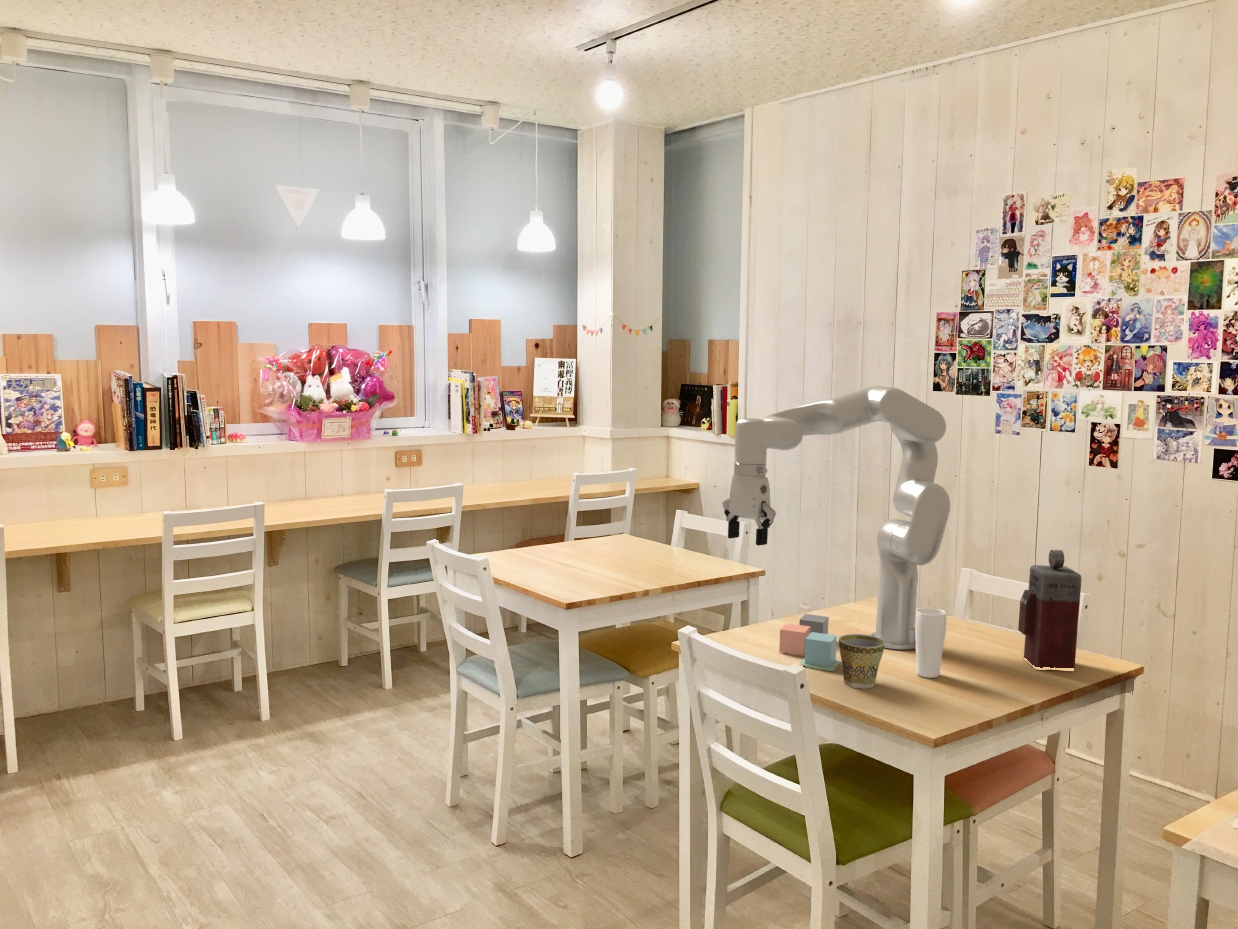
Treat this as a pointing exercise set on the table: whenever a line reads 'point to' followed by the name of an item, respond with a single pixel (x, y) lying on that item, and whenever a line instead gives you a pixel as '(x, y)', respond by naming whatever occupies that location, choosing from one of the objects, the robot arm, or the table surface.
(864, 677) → the ceramic cup
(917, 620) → the drinking glass
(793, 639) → the coral brick
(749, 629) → the table surface
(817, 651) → the teal base brick
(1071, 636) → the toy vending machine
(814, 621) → the charcoal brick
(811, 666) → the green baseplate
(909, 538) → the robot arm
